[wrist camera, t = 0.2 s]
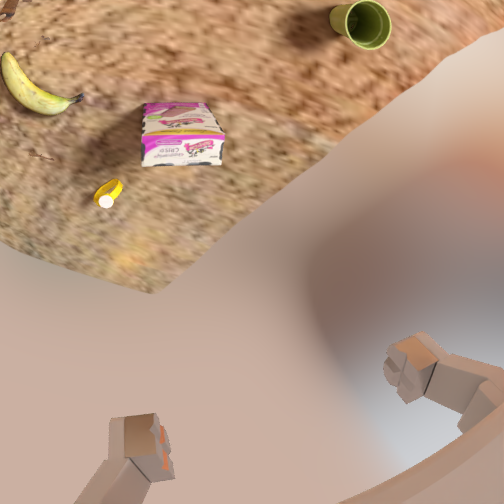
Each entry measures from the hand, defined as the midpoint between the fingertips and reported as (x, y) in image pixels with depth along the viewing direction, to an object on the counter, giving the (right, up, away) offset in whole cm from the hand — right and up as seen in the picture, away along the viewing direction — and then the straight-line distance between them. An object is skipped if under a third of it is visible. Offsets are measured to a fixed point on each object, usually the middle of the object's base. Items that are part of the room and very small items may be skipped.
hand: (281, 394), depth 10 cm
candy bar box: (-15, +29, +42) cm, 53 cm away
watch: (-28, +17, +47) cm, 57 cm away
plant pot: (+16, +47, +36) cm, 62 cm away
